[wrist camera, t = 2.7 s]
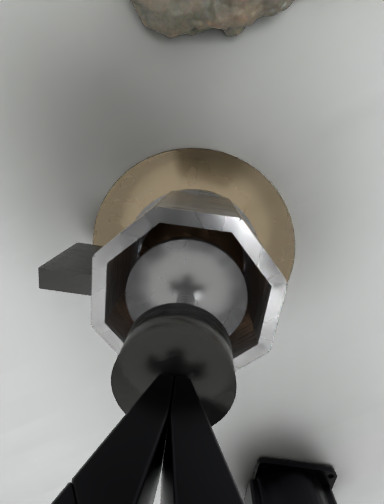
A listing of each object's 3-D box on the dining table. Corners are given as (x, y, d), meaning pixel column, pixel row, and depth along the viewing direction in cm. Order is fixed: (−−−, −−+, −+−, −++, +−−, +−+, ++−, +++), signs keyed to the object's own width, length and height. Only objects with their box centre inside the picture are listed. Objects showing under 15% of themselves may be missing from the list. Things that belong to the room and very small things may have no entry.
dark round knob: (256, 246, 12) (296, 313, 7) (234, 351, 14) (252, 471, 9) (132, 228, 12) (74, 282, 7) (125, 335, 14) (74, 445, 9)
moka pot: (317, 164, 17) (390, 167, 10) (269, 350, 21) (299, 440, 14) (95, 133, 17) (22, 117, 10) (91, 325, 21) (37, 402, 14)
